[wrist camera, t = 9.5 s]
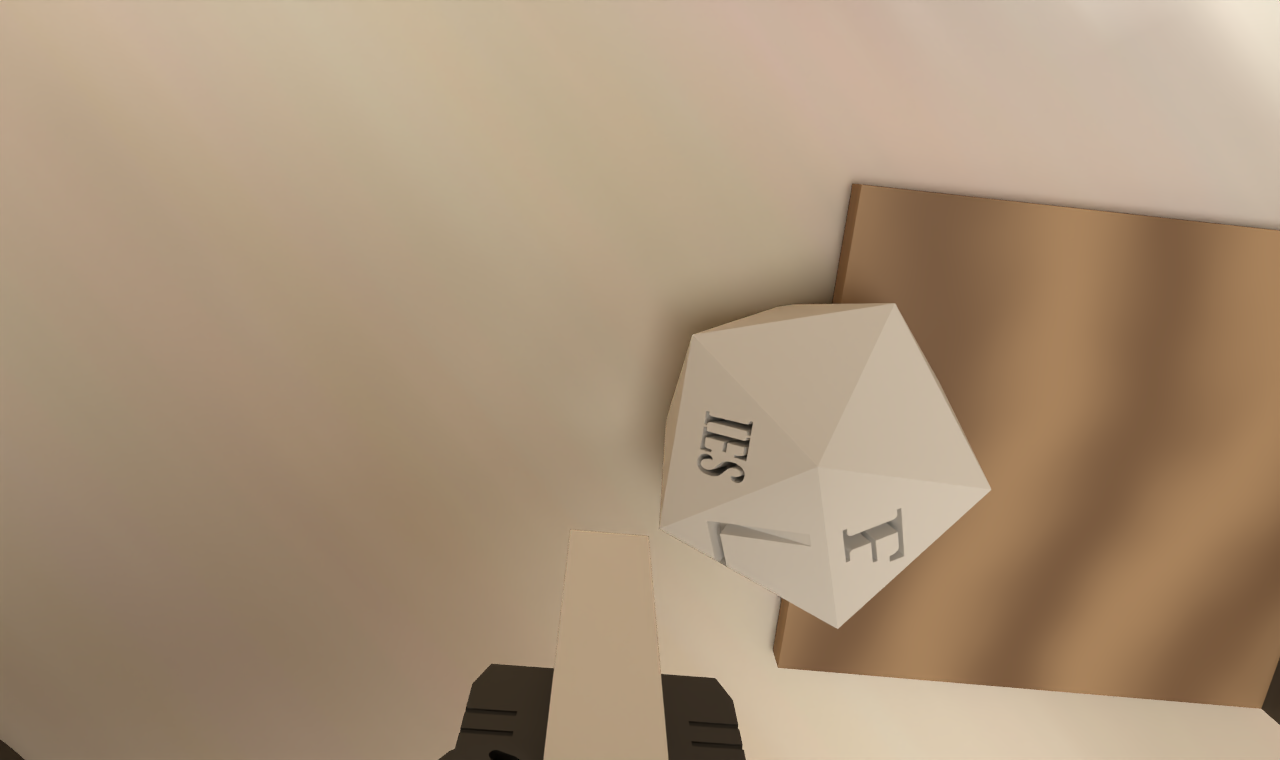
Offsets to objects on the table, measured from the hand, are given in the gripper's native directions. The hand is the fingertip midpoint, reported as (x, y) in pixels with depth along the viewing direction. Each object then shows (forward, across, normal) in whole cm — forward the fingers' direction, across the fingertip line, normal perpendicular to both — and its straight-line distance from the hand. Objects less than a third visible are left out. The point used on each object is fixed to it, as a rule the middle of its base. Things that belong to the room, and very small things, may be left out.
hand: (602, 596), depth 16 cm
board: (+11, +16, 0) cm, 19 cm away
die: (+11, +2, 0) cm, 11 cm away
